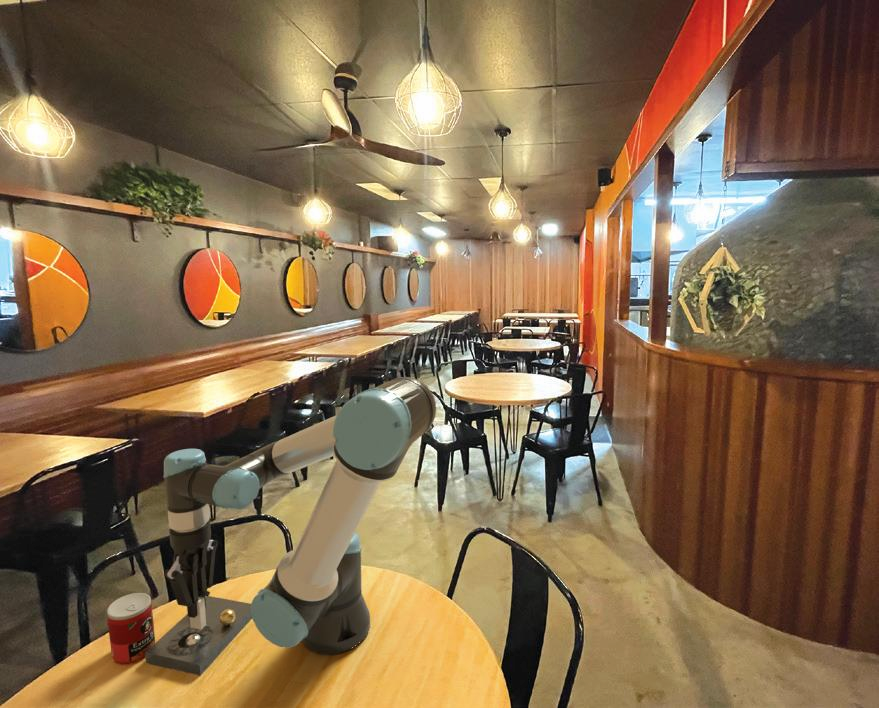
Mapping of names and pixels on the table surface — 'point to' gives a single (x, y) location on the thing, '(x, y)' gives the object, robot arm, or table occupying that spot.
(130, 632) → the canned food
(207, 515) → the robot arm
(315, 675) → the table surface
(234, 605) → the bearing plate
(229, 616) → the brass ball
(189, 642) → the steel ball
